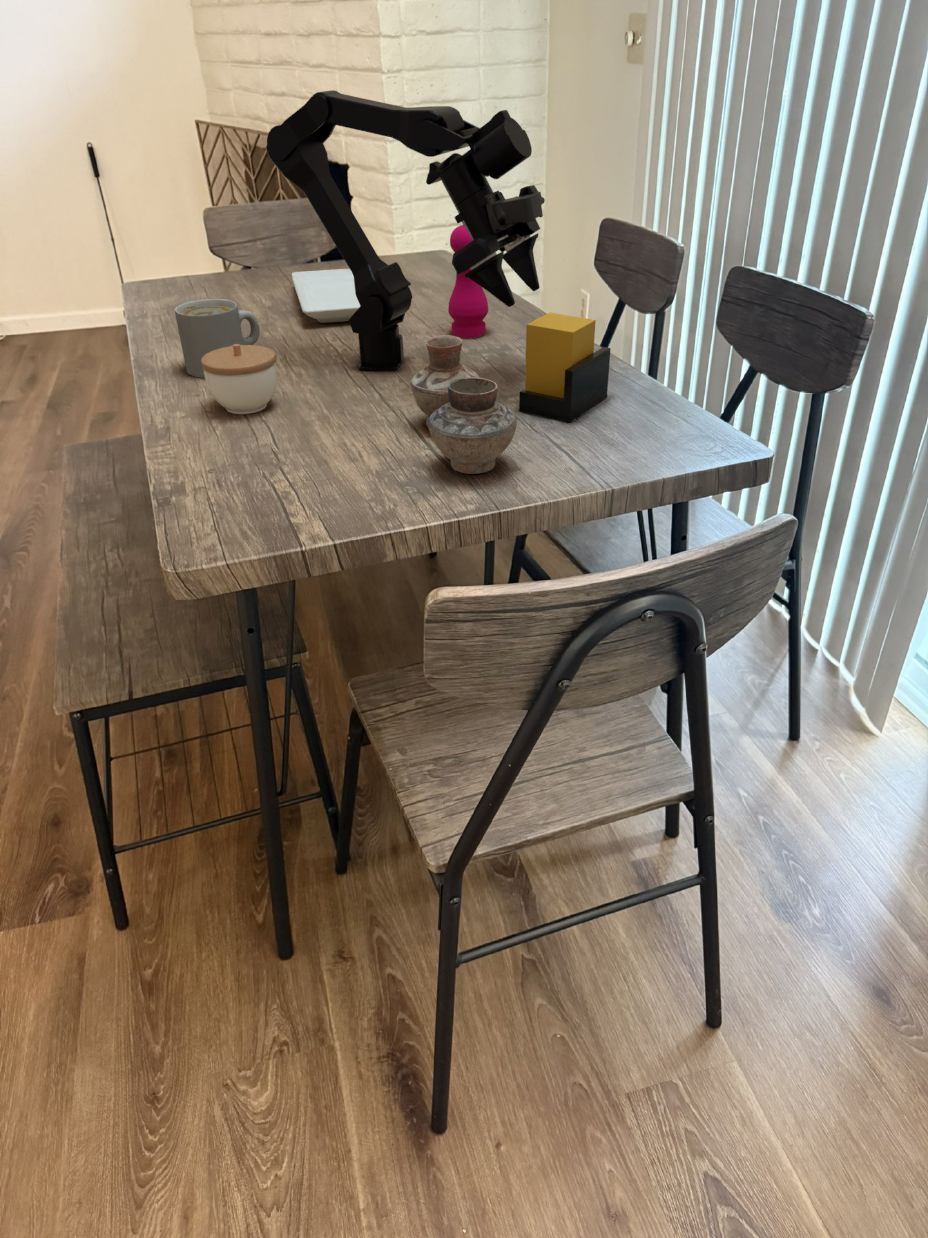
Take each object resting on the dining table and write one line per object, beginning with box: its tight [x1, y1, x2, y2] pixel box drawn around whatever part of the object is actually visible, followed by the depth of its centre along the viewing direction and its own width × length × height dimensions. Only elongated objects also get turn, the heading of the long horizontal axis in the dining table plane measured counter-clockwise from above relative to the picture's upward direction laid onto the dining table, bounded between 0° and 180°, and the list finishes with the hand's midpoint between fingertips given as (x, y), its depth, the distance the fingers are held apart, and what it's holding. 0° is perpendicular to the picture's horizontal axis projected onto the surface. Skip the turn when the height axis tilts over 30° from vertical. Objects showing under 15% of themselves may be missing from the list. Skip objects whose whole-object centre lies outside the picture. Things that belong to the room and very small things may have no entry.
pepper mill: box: [448, 222, 489, 339], centre depth 157 cm, size 7×7×20 cm
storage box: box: [524, 312, 597, 398], centre depth 130 cm, size 8×7×12 cm
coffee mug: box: [174, 298, 260, 379], centre depth 148 cm, size 13×10×10 cm
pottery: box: [409, 334, 518, 475], centre depth 118 cm, size 11×25×12 cm, turn 15°
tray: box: [291, 268, 360, 324], centre depth 179 cm, size 17×31×4 cm, turn 13°
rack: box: [518, 346, 611, 423], centre depth 131 cm, size 8×12×8 cm
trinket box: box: [201, 344, 278, 415], centre depth 132 cm, size 11×11×9 cm
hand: (524, 297), depth 132 cm, fingers open, 9 cm apart
